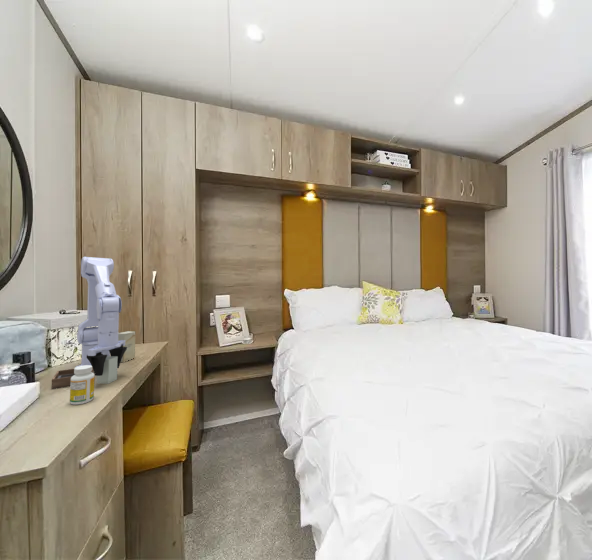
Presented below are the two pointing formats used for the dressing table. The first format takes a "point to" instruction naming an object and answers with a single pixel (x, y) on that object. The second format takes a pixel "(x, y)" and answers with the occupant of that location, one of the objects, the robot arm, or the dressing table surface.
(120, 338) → the skincare box
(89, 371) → the supplement bottle
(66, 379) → the bore box
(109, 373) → the sage peg
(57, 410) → the dressing table surface
